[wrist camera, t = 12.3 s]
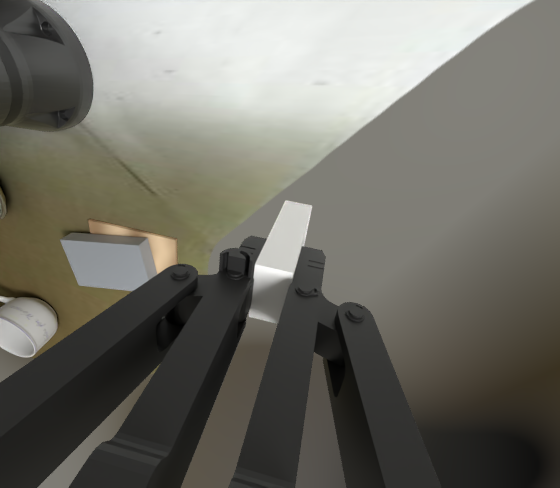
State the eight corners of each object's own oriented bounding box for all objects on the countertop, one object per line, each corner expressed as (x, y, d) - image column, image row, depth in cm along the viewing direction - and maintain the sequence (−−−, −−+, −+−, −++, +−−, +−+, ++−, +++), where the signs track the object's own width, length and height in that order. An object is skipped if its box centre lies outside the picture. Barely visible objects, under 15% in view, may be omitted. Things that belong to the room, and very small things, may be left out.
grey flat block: (138, 245, 49) (59, 239, 51) (152, 293, 53) (79, 285, 56) (148, 237, 51) (72, 231, 54) (160, 283, 56) (90, 276, 58)
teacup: (76, 324, 67) (45, 354, 60) (44, 334, 71) (10, 363, 64) (29, 271, 62) (-12, 297, 55) (-4, 284, 66) (-45, 310, 59)
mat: (99, 268, 57) (97, 270, 57) (90, 218, 52) (87, 220, 52) (178, 287, 56) (177, 289, 56) (176, 238, 51) (175, 240, 50)
